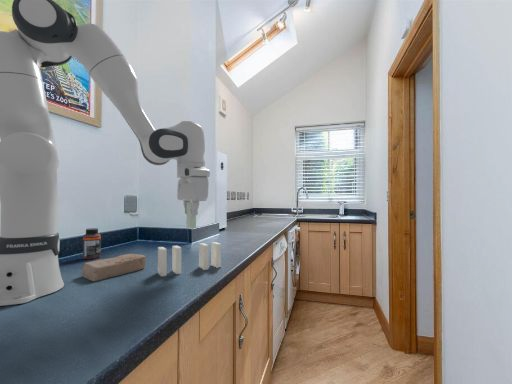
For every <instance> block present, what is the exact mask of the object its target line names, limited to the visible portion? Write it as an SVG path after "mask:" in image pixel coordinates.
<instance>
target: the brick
mask: <svg viewBox="0 0 512 384" xmlns="http://www.w3.org/2000/svg"><path fill="white" fill-rule="evenodd" d="M146 263H147V260H146V256H145V255H143V254H139V253H137V254H136V253H127V254H126V253H125V254H121V255H117V256H115V257H110V258H109V257H108V258H104V259H95V260H93V261H89V262H84V264H83V267H82V270H81V275H82V278H84V279H87V280H90V281H92V282H96V281H101V280H105V279H108V278H112V277H113V278H114V277H117V276H121V275H125V274H129V273H134V272H136V271H139V270H142V269H145V267H146Z"/></svg>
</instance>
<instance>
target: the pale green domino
mask: <svg viewBox="0 0 512 384" xmlns="http://www.w3.org/2000/svg"><path fill="white" fill-rule="evenodd" d="M191 209H192V204H191V203H187V214H186V227H187V228H189V229H197V215H194V216H193V215H191Z"/></svg>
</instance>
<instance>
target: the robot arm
mask: <svg viewBox="0 0 512 384" xmlns="http://www.w3.org/2000/svg"><path fill="white" fill-rule="evenodd" d="M11 16H12V19H13V23H14V24H15V26H16V28H17V29H16V28H15V29H14V30H11V31H3V30H0V307H1V306H12V305H18V304H26V303H28V302H29V303H30V302H31V301H33V300H35V299H37V298H40V297H43V296H46V295H49V294H52V293H56V292H57V291H59V290H62V288H63V287H64V286H65V283H64V281H63V278H62V273H61V269H60V263H59V253H60V244H61V243H60V238H61V237H60V233H59V232H58V167H59V164H60V162H59V155H58V150H57V146H56V145H57V144H56V141H55V137H54V131H53V126H52V121H51V117H50V111H49V107H48V106H49V105H48V101H47V97H46V91H45V87H44V80H43V76H42V71H41V68H42V69H43V68H49V67H57V66H63V65H66V64H67V63H68V62H70V61H71V59H72V58H73V59H75V60H77V61H78V62H79V63H80V64H81V65H82V66H83V68H84V69H85V71H86V72H87V73H88V75H89V76H90V78H91V79H92V80H93V82H94V83H95V84H96V85H97V87H98V88H99V89H100V90H101V92H102V93H103V94H104V95H105V96H106V98H108V99H109V101H110V102H111V103H112V105H113V106H114V107H115V108H116V109H117V111H118V112H119V113H120V115H121V116H122V117H123V119H124V120H125V121H126V123H127V125H128V126H129V128H130V129H131V130H132V132H133V134H134V135H135V137H136V138H137V140H138V142H139V145H140V150H141V153H142V156H143V158H144V159H145V160H146V161H147V162H148V163H150V164H151V165H155V166H163V165H165V164H167V163H169V162H170V161H171V160H176V165H177V166H176V170H177V171H176V178H177V179H178V178H179V179H178V181H177V193H176V194H177V195H176V196H177V200H178V201H183V207H184V214H185V215H187V203H191V204H192V209H191V215H193V216H194V215H196V216H198V213H199V212H198V210H199V206H200V202H206V201H207V200H208V197H209V178H210V175H211V171H210V169H208V168H207V167H206V166H205V165H206V162H205V159H204V157H205V150H206V144H205V141H206V140H205V132H204V130H203V126H201V125H200V124H198V123H196V122H193V121H189V120H188V121H187V120H183V121H180V122H178V123H177V124H175V125H173V126H169V127H163V128H158V129H155V127H154V126H153V123H152V122H151V121H150V120H149V117H147V115H146V114H145V112H144V110H143V107H142V106H141V103H140V96H139V81H138V78H137V76H136V73H135V72H134V69H133V67H132V65H131V63H130V62H129V61H128V59H127V58H126V56H125V55H124V53H123V52H122V50H121V49H120V48H119V47H118V45H117V44H116V43H115V41H114V40H113V39H112V38H111V37H110V36H109V35H108V33H107V32H106V31H105V30H103V28H102V27H100V26H99V25H97V24H94V23H89V22H88V23H82V24H78V22H77V20H76V17H75V16H74V15H73V14H72V13H71V12H68V11H67V10H66V9H64V8H63V7H62V6H60V5H59V4H58V3H57V2H56V1H54V0H13V1H12V5H11Z"/></svg>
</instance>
